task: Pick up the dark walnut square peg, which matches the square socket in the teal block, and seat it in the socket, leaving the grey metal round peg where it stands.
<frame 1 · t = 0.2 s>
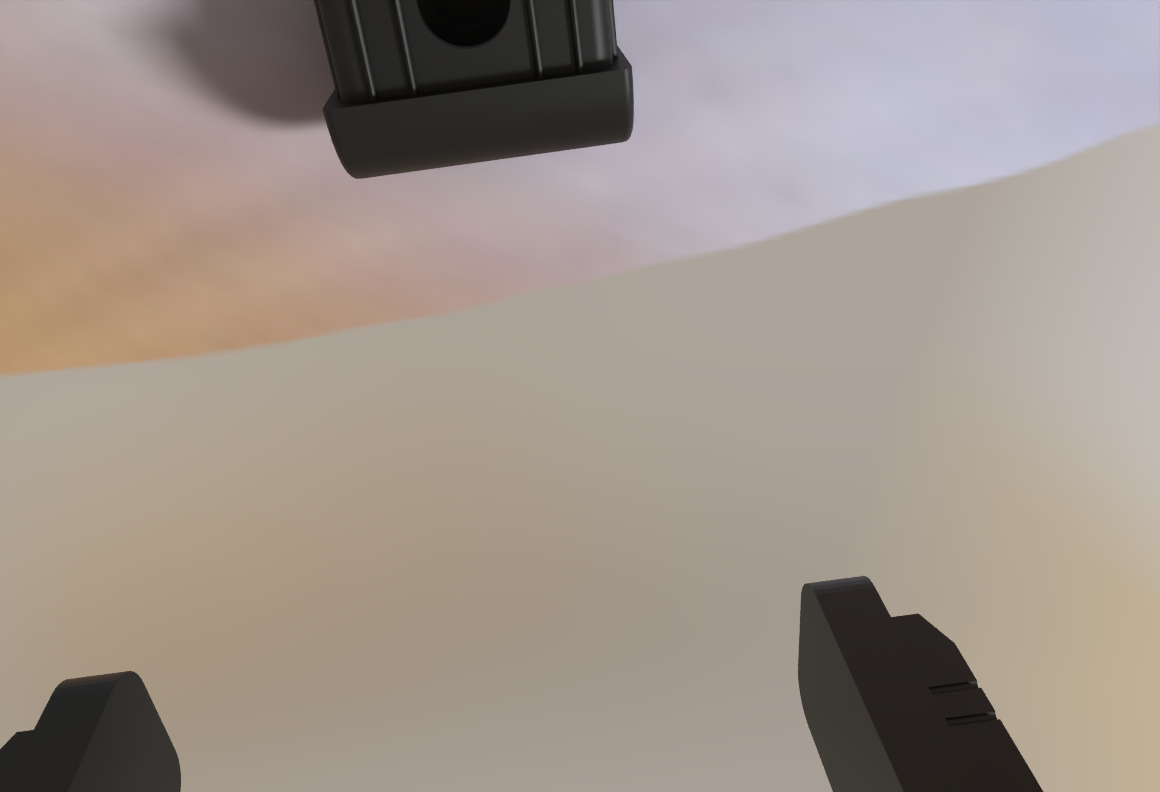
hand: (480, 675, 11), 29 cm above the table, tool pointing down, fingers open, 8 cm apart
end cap: (476, 36, 35), on the table
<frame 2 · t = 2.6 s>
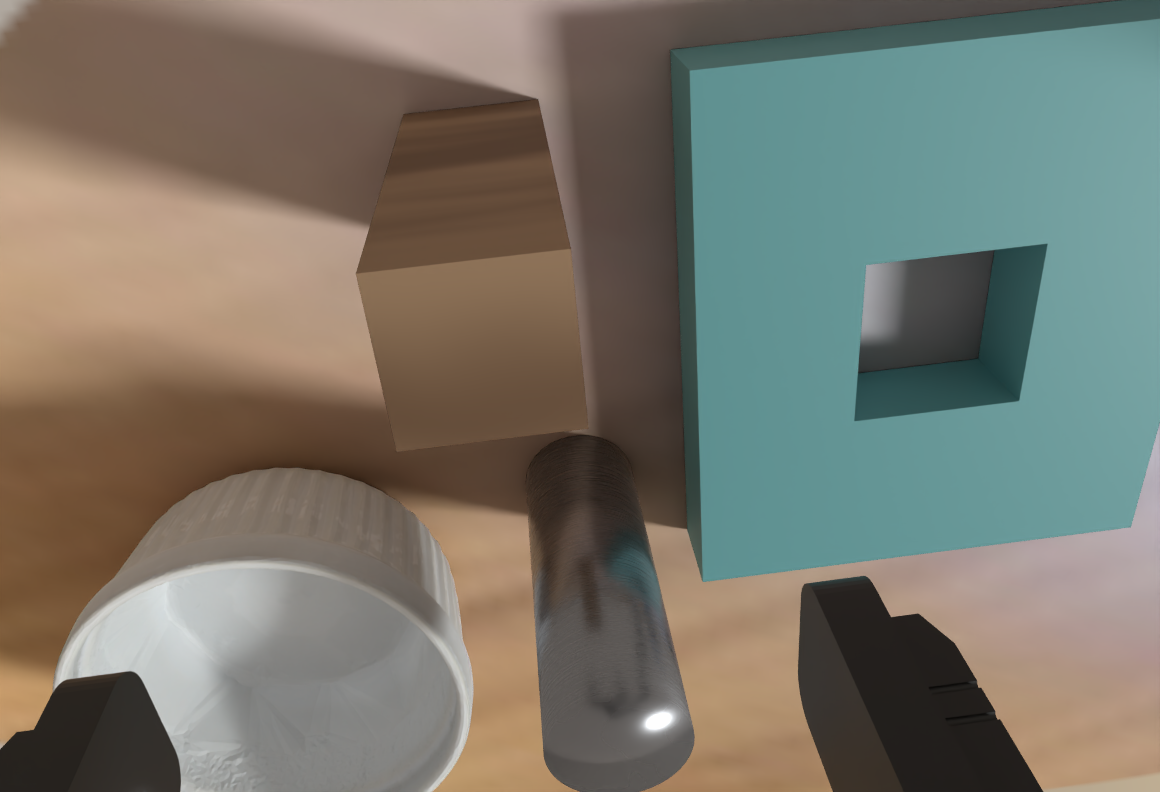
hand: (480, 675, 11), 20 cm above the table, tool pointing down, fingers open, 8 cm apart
square peg: (480, 172, 29), on the table
socket block: (909, 297, 32), on the table
ramekin: (305, 572, 36), on the table
round peg: (579, 480, 35), on the table
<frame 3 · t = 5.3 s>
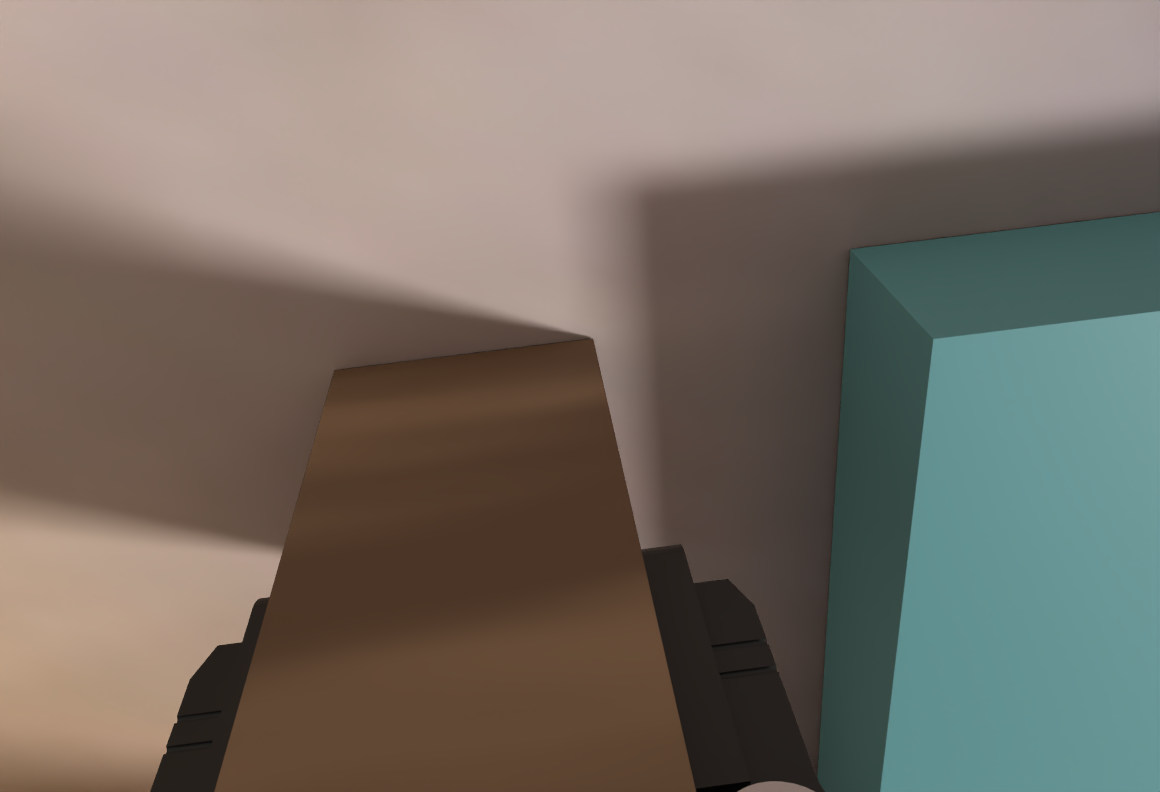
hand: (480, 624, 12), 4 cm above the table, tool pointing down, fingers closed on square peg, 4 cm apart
square peg: (482, 460, 15), on the table, touching gripper
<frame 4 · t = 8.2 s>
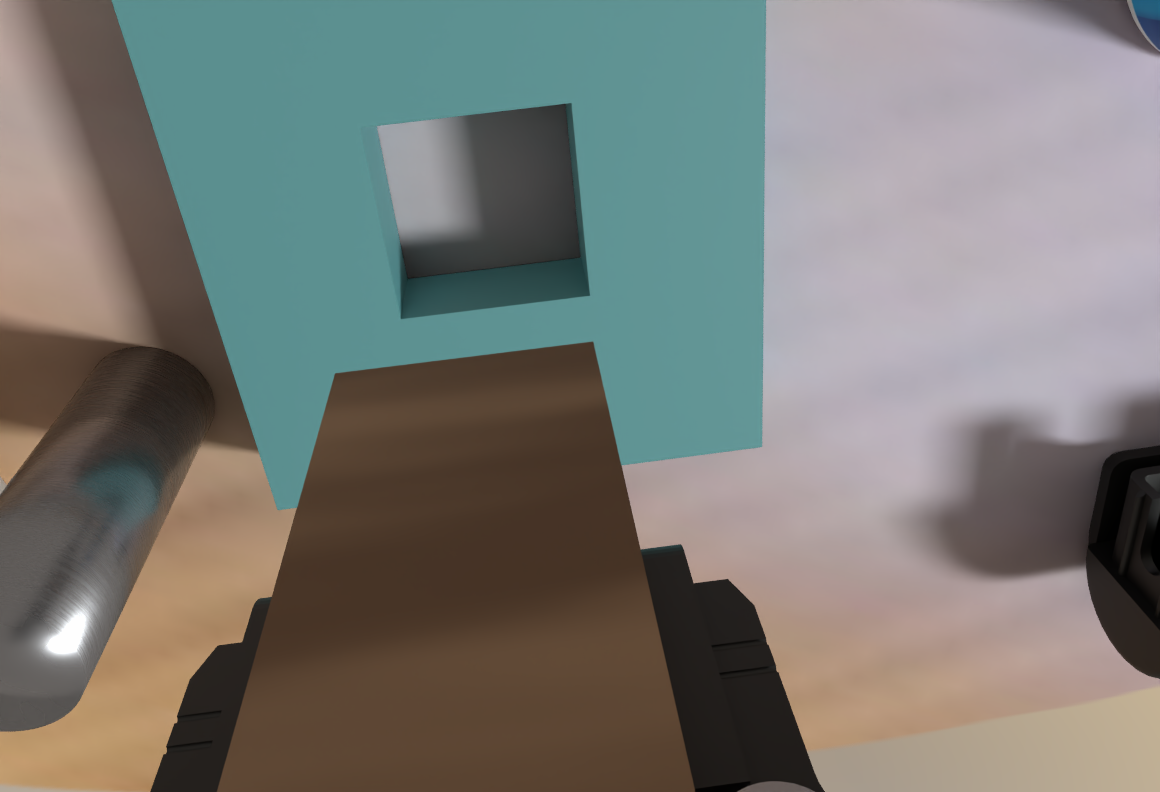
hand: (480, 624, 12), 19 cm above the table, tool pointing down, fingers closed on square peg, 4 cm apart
square peg: (483, 463, 15), point 15 cm above the table, touching gripper
socket block: (481, 183, 28), on the table
round peg: (152, 400, 31), on the table
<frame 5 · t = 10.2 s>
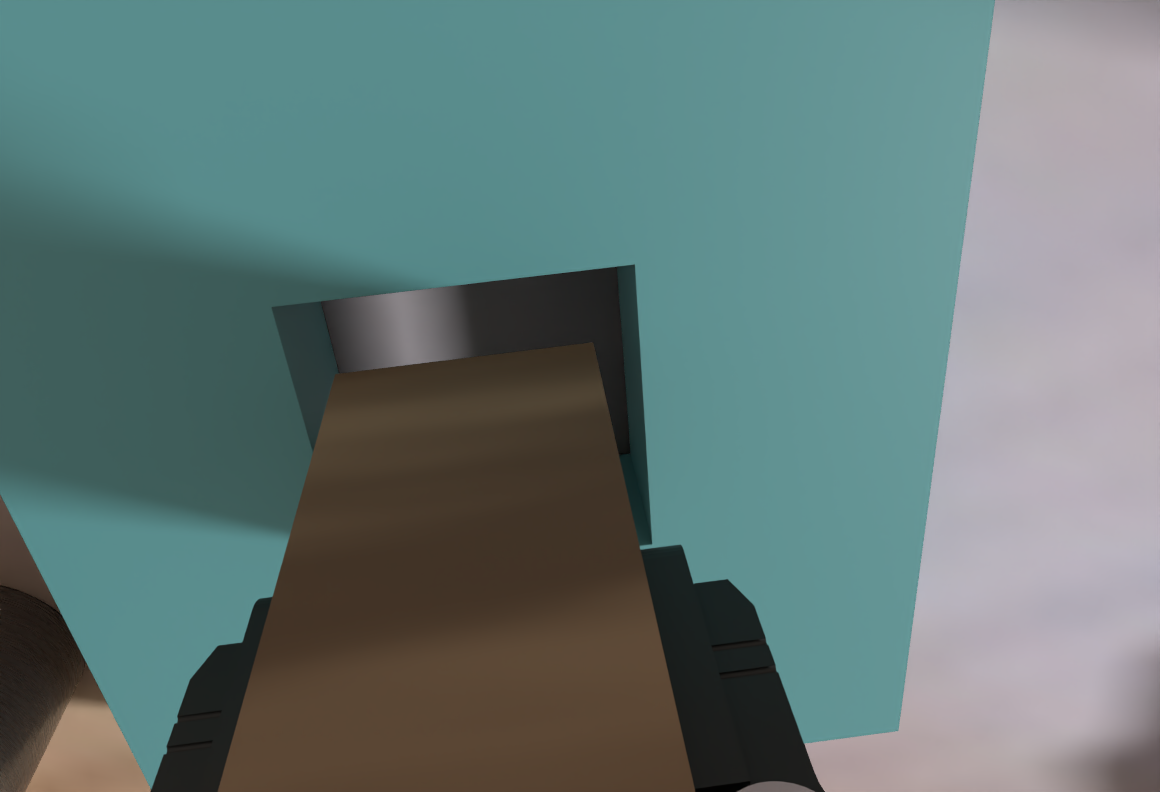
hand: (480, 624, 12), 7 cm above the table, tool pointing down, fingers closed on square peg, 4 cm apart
square peg: (483, 464, 15), point 4 cm above the table, touching gripper
socket block: (480, 353, 18), on the table
when the fingers open (5 cm above the table, at t = 11.5 s): square peg drops 1 cm, resting in socket block.
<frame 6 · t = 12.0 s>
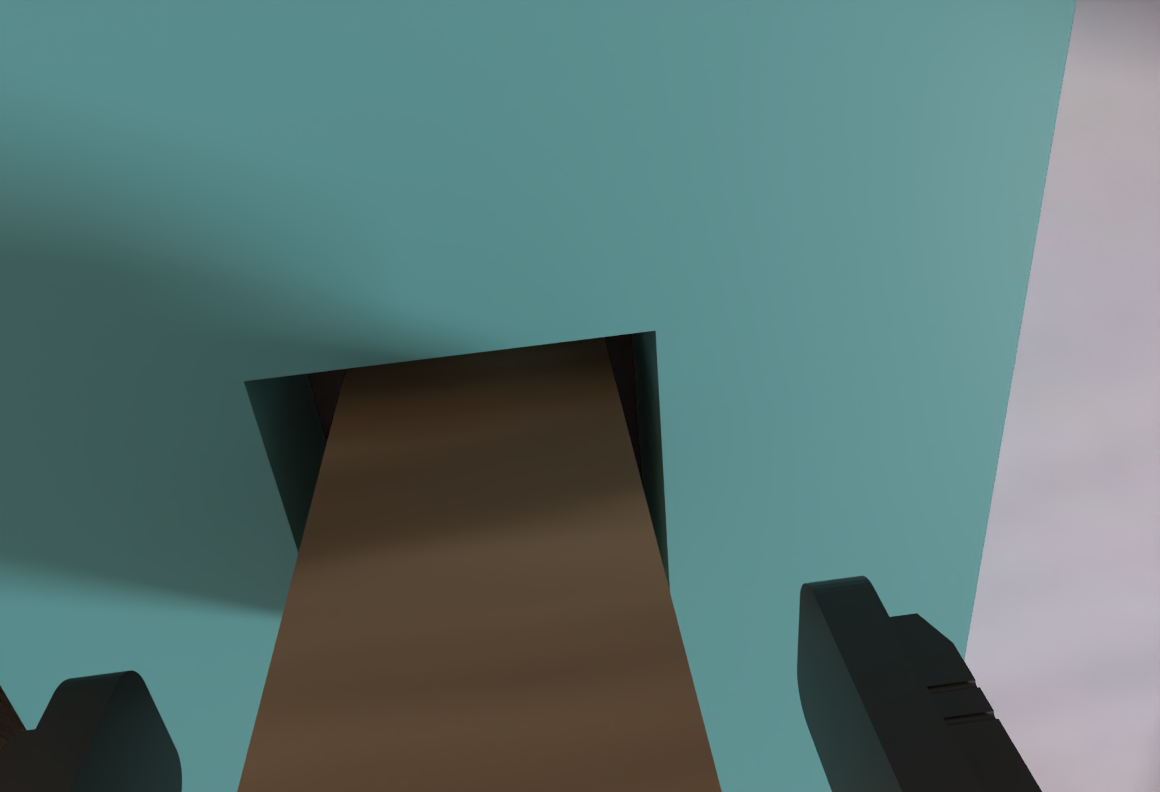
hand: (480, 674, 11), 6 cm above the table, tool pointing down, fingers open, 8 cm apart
square peg: (491, 413, 17), resting in socket block
socket block: (481, 414, 17), on the table
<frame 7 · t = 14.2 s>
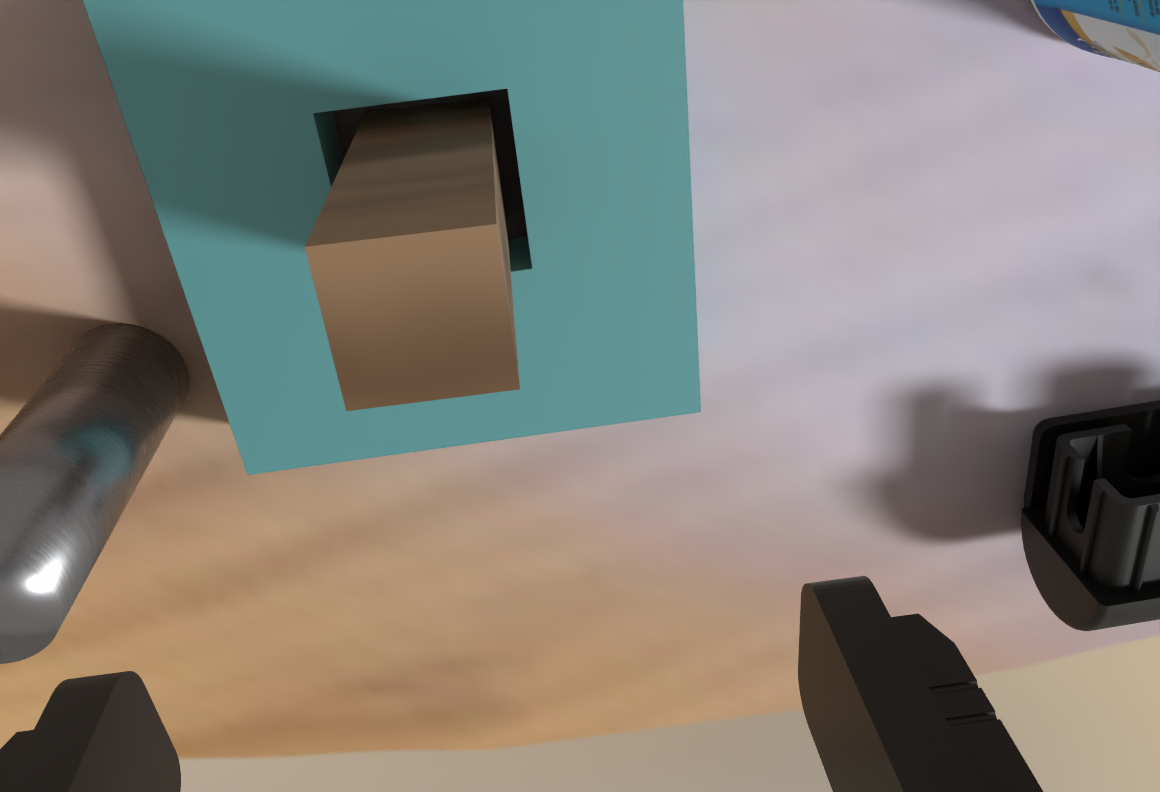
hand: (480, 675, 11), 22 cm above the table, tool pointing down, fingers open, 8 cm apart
square peg: (438, 166, 31), resting in socket block
socket block: (432, 167, 31), on the table
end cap: (1123, 469, 40), on the table
round peg: (130, 374, 33), on the table
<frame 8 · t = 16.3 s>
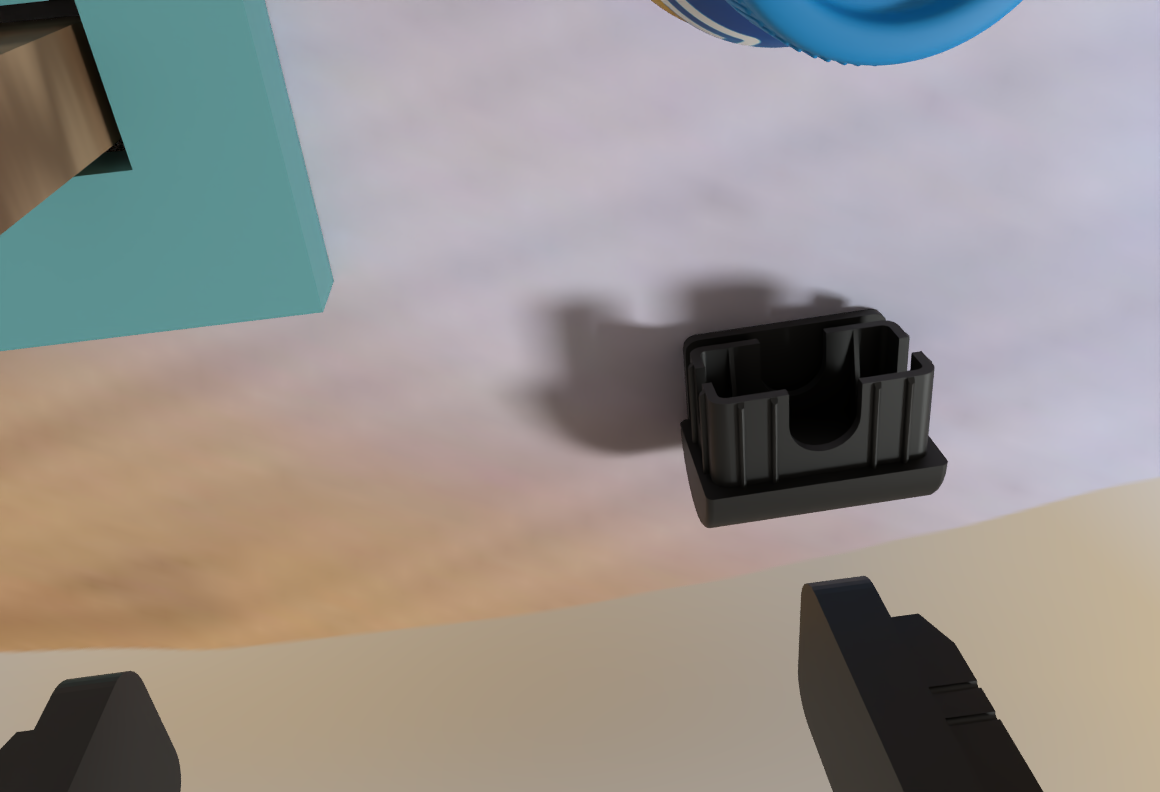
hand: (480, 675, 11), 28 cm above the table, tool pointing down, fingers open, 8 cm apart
square peg: (60, 78, 34), resting in socket block
socket block: (55, 78, 33), on the table
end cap: (781, 386, 43), on the table
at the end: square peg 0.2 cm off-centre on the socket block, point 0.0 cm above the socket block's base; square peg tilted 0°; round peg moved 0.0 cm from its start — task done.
